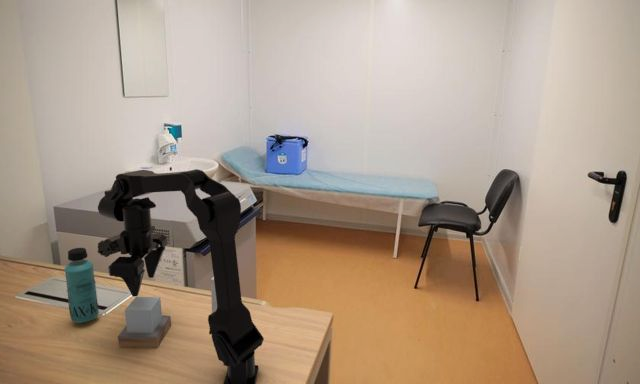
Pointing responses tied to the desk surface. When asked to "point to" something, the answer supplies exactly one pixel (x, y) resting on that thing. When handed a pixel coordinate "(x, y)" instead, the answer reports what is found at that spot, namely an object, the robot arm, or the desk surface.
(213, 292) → the skincare box
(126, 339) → the base
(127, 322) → the cube
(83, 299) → the beverage bottle
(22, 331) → the desk surface
